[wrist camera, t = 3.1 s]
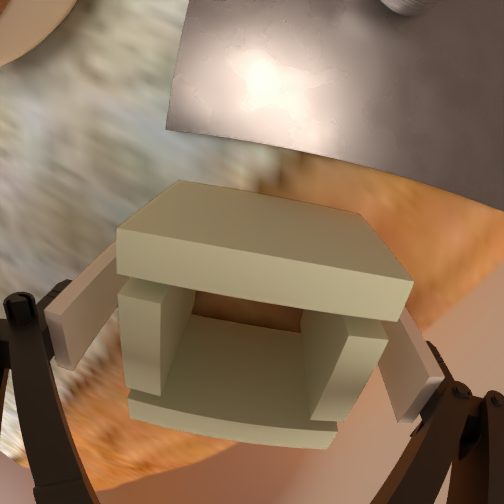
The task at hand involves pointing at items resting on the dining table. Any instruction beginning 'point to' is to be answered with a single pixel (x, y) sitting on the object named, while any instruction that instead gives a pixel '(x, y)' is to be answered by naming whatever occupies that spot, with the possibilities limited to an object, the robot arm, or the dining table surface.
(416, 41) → the keeper base
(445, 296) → the dining table surface
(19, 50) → the lidded jar
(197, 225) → the square link
